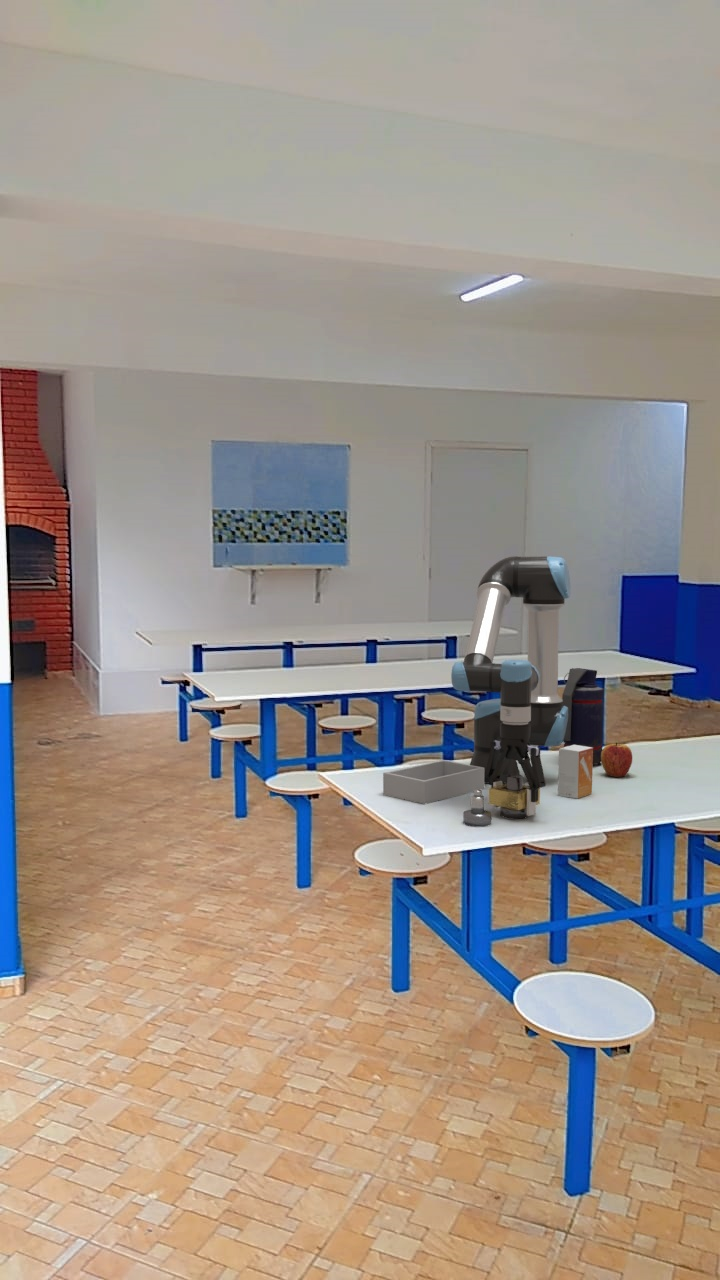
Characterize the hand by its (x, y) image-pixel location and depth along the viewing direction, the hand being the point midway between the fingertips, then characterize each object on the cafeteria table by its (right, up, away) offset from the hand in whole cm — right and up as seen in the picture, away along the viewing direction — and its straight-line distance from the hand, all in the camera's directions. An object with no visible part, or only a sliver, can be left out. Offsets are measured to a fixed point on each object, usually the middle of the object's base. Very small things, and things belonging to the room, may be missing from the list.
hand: (514, 810), depth 252 cm
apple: (+37, +2, +46) cm, 59 cm away
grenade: (+31, +4, +63) cm, 70 cm away
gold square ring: (0, +2, 0) cm, 2 cm away
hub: (-10, -2, -7) cm, 12 cm away
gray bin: (-18, +1, +26) cm, 31 cm away
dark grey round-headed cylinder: (0, -1, 0) cm, 1 cm away
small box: (+20, 0, +22) cm, 30 cm away
